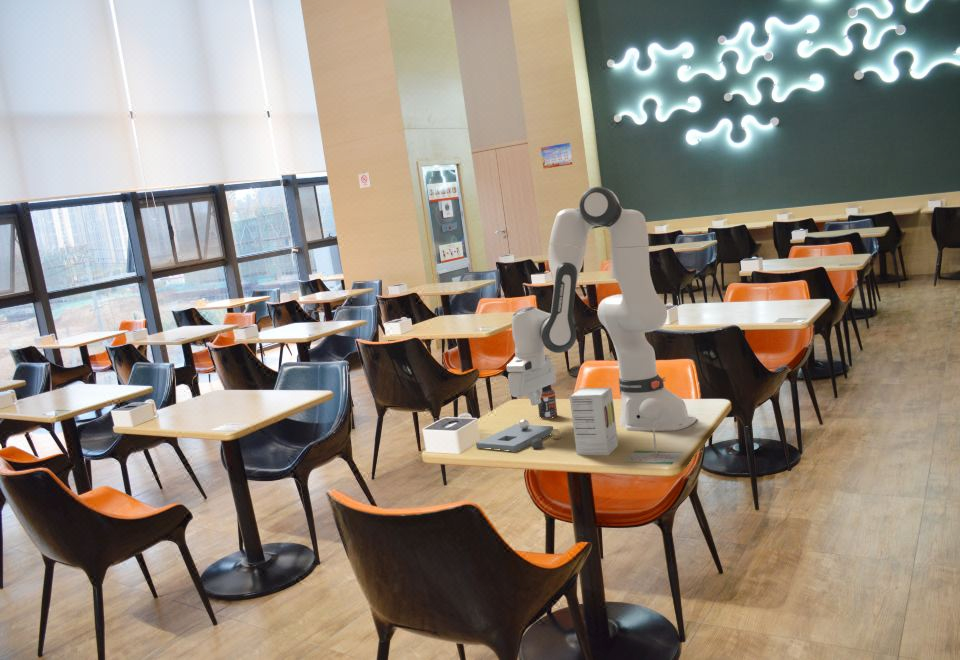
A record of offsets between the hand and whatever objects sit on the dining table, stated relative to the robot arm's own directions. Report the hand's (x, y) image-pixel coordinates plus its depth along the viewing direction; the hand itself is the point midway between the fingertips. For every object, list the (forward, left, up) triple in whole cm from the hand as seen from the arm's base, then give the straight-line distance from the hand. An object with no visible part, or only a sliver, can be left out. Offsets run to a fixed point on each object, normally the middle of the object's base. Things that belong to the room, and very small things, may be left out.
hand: (536, 404), depth 246 cm
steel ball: (0, +8, -4) cm, 9 cm away
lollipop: (-46, +13, -9) cm, 49 cm away
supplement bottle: (+6, -14, -9) cm, 17 cm away
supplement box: (-29, +14, -9) cm, 33 cm away
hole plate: (0, +13, -8) cm, 15 cm away
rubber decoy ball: (-11, +17, -7) cm, 22 cm away
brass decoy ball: (-11, +7, -7) cm, 15 cm away
